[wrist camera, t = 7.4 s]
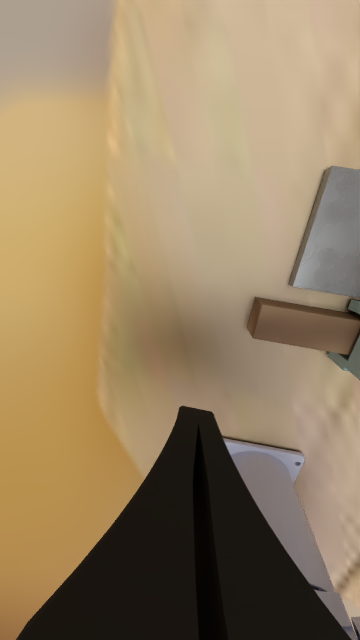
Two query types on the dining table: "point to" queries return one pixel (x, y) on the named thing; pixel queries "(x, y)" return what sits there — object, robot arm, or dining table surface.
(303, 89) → the dining table surface
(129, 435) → the dining table surface
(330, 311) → the trammel rail
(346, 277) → the flange plate
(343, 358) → the carriage
